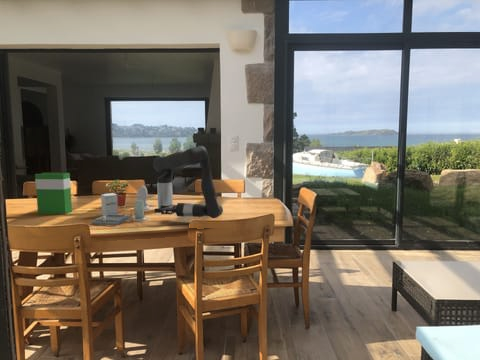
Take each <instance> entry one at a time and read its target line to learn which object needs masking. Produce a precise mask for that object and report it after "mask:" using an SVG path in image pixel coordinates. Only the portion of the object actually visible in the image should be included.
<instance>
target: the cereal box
mask: <svg viewBox="0 0 480 360" xmlns="http://www.w3.org/2000/svg"><path fill="white" fill-rule="evenodd" d="M34 177H35V190H36V191H35V192H36V205H37V206H36V207H37V214H42V215H45V214H46V215H67V214H70V213H72V212H73V206H72V191H71V174H70V172H41V173H35V174H34Z"/></svg>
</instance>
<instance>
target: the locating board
mask: <svg viewBox="0 0 480 360" xmlns="http://www.w3.org/2000/svg"><path fill="white" fill-rule="evenodd" d="M129 220H132V215H129V214H119V213H118V214H106V215H104V216H103V215H101V216H100V217H97V218H95V219H94V220H93V221H91V226H92V225H93V226H107V225H110V226H109V227H117V226H119V225H120V224H122V223H124V222H126V221H129Z"/></svg>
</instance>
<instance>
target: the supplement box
mask: <svg viewBox="0 0 480 360" xmlns="http://www.w3.org/2000/svg"><path fill="white" fill-rule="evenodd" d="M100 196H101V197H100V201H101V216H104V215H106V214H119V209H118V207H119V206H118V193H117V194H116V193H114V192H113V193H112V192H111V193H104V194H103V193H102V194H100Z"/></svg>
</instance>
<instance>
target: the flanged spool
mask: <svg viewBox="0 0 480 360" xmlns="http://www.w3.org/2000/svg"><path fill="white" fill-rule="evenodd" d="M133 203H134V207H135V210H134V217H131V220H132V222H136V223H138V222H139V223H140V222H146V221H148V217H147V216H145V210H144V200H138V199H136V200H134V202H133Z"/></svg>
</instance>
